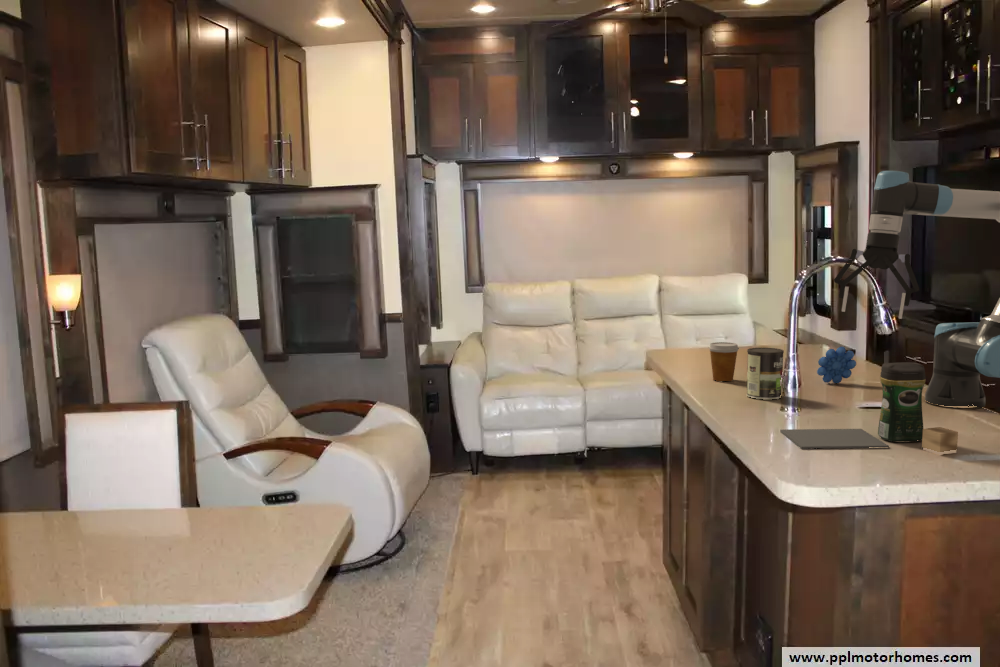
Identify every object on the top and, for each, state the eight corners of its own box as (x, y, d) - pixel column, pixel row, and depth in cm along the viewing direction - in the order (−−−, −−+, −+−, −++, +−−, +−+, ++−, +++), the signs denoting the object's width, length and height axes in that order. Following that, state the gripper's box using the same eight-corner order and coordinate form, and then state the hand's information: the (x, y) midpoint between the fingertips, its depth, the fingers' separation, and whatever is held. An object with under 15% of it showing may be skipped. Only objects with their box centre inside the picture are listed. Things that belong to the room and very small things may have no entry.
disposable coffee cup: (744, 380, 280) (745, 344, 278) (725, 384, 274) (726, 347, 272) (720, 376, 287) (721, 341, 286) (702, 380, 281) (702, 343, 280)
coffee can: (787, 395, 256) (788, 348, 254) (775, 401, 247) (776, 353, 246) (753, 391, 262) (754, 346, 260) (740, 397, 254) (741, 350, 252)
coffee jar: (912, 434, 209) (916, 359, 206) (928, 443, 201) (932, 365, 198) (872, 435, 209) (875, 360, 206) (886, 443, 201) (890, 365, 198)
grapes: (852, 381, 275) (854, 344, 273) (857, 385, 268) (858, 347, 267) (814, 380, 277) (815, 344, 276) (817, 384, 271) (819, 347, 269)
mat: (861, 431, 213) (861, 428, 213) (888, 448, 197) (889, 445, 197) (780, 431, 213) (780, 429, 213) (801, 449, 197) (801, 446, 197)
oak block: (938, 448, 197) (940, 426, 196) (956, 453, 192) (958, 431, 192) (921, 450, 195) (922, 428, 195) (939, 455, 191) (940, 434, 190)
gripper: (831, 227, 220) (819, 309, 223) (938, 236, 210) (925, 322, 213) (833, 228, 227) (821, 308, 230) (937, 237, 217) (924, 320, 219)
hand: (871, 315), depth 221 cm, fingers open, 13 cm apart
